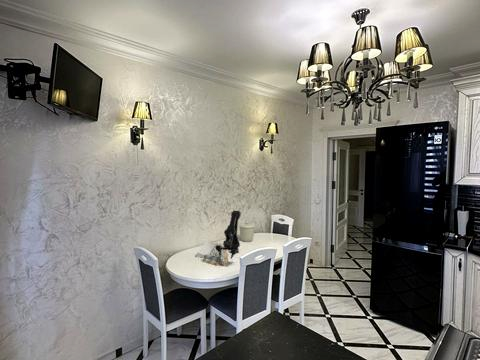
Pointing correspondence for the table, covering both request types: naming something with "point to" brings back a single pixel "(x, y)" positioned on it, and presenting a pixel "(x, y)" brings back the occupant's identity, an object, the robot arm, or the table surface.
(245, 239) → the canister
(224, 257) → the maple post
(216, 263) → the ridge rail
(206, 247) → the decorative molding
